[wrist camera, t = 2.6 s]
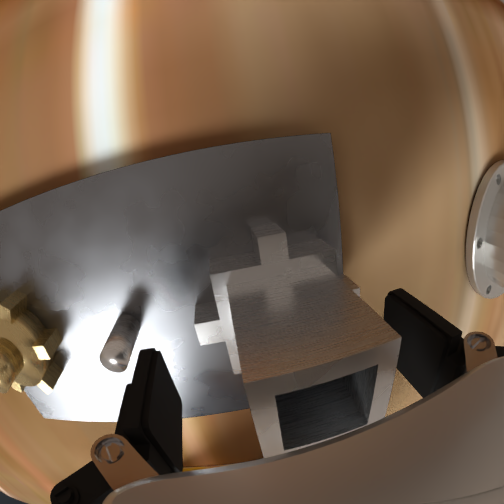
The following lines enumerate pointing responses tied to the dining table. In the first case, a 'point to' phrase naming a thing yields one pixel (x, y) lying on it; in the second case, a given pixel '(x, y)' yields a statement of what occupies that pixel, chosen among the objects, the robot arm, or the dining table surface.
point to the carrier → (147, 270)
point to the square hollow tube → (299, 341)
